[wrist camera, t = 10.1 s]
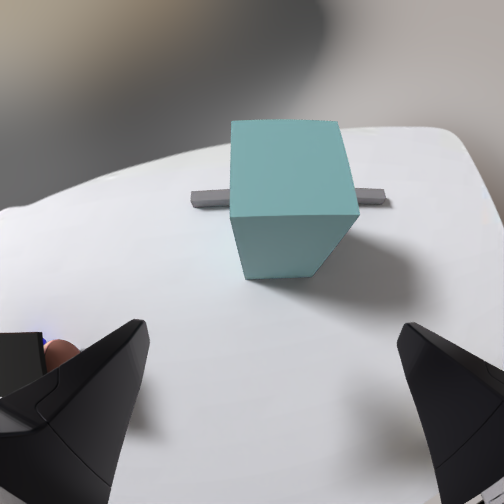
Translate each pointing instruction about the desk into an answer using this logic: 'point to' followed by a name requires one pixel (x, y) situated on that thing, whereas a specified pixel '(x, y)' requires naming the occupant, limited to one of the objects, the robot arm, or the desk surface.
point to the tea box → (289, 195)
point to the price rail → (223, 197)
